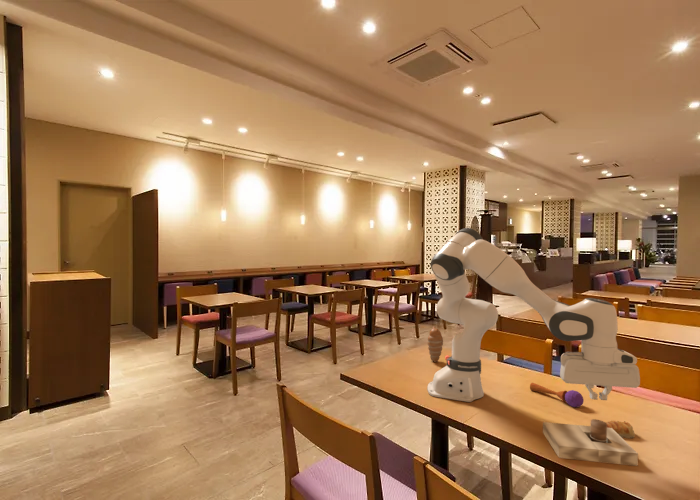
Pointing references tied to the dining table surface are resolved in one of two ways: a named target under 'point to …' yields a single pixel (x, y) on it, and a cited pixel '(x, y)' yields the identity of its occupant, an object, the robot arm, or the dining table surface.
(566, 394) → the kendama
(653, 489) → the dining table surface
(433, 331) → the brown ribbed tapered oval
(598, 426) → the peg
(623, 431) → the pastry
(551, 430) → the seat board
